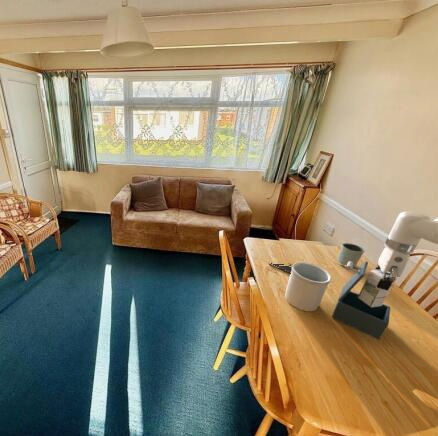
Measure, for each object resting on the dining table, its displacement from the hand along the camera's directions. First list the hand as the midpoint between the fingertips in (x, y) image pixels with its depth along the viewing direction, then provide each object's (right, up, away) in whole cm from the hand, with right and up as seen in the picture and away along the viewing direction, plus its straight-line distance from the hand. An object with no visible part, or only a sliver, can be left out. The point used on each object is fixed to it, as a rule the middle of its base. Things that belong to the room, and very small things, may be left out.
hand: (379, 282), depth 91 cm
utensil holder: (-19, -15, +20) cm, 31 cm away
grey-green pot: (+28, -2, +47) cm, 55 cm away
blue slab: (-5, -2, +6) cm, 8 cm away
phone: (-12, -3, +44) cm, 46 cm away
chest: (-1, -19, +9) cm, 21 cm away
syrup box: (0, -10, +4) cm, 11 cm away
